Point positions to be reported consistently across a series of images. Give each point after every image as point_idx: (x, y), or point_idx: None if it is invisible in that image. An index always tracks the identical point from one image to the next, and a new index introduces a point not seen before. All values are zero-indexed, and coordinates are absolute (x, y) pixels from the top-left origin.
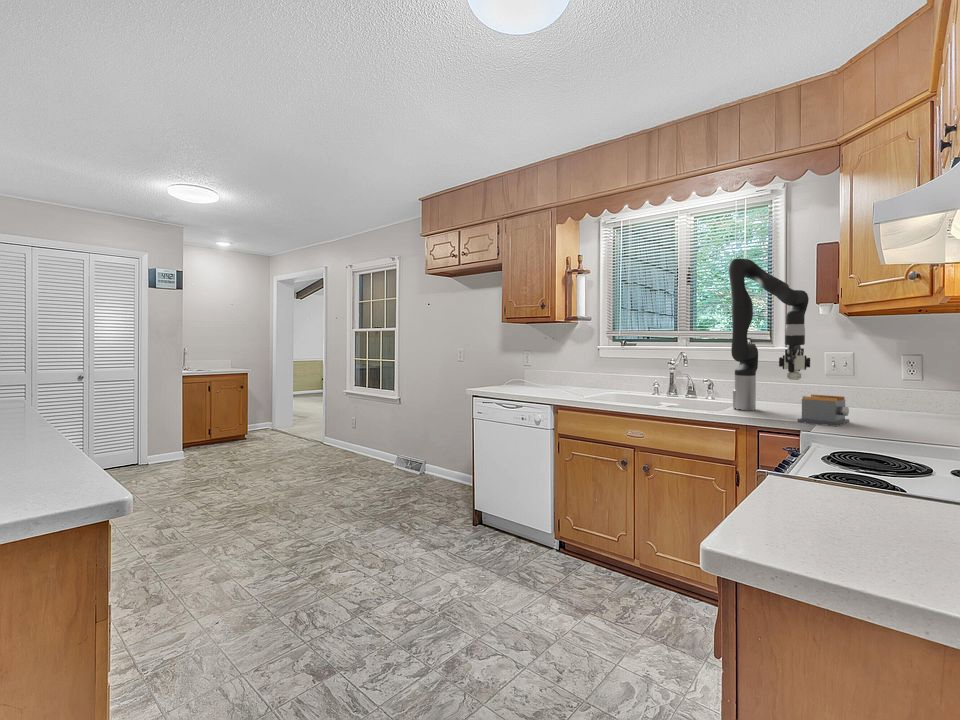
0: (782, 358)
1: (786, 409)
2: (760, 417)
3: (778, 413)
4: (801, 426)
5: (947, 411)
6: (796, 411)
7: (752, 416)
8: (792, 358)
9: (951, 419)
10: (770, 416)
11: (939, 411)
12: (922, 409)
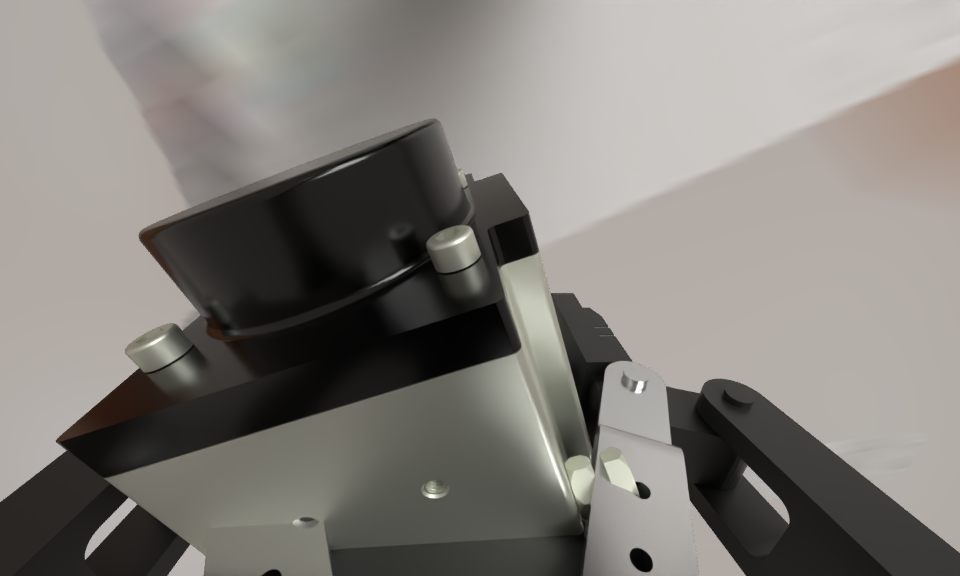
0: (152, 347)
1: (704, 48)
2: (249, 68)
3: (493, 83)
4: (185, 320)
5: (879, 477)
6: (641, 132)
7: (239, 4)
8: (164, 564)
9: (696, 511)
10: (338, 98)
11: (872, 467)
12: (913, 434)
